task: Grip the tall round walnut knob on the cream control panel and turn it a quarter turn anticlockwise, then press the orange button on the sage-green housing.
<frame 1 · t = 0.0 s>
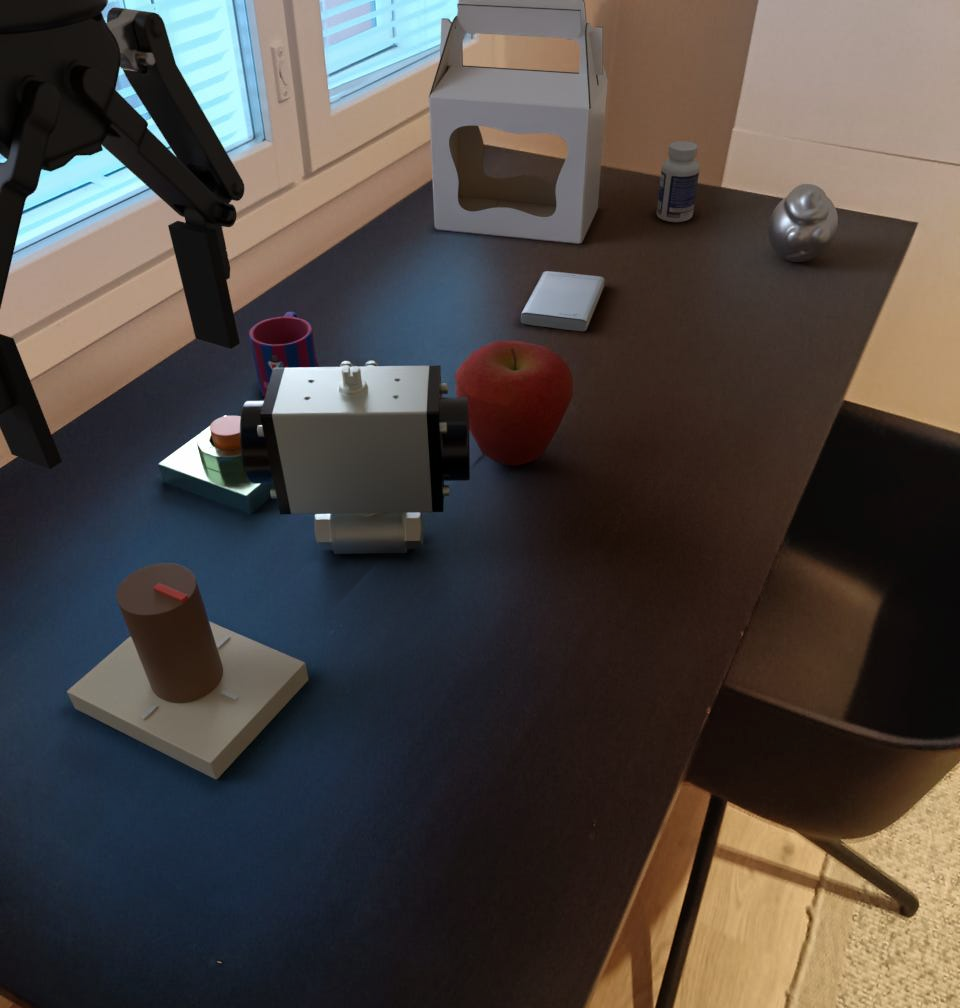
hand: (134, 395, 50), 28 cm above the table, tool pointing down, fingers open, 13 cm apart
button box: (239, 471, 93), on the table
ball valve: (373, 544, 85), on the table
knob: (172, 632, 67), point 7 cm above the table, hinge at 0.0°
mug: (294, 381, 105), on the table
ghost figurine: (794, 261, 126), on the table
panel: (193, 694, 72), on the table
apple: (512, 459, 94), on the table
gable box: (517, 221, 137), on the table
hard drive: (563, 307, 117), on the table
pill bottle: (673, 217, 138), on the table
button: (230, 433, 89), point 4 cm above the table, slide at 0.1 cm
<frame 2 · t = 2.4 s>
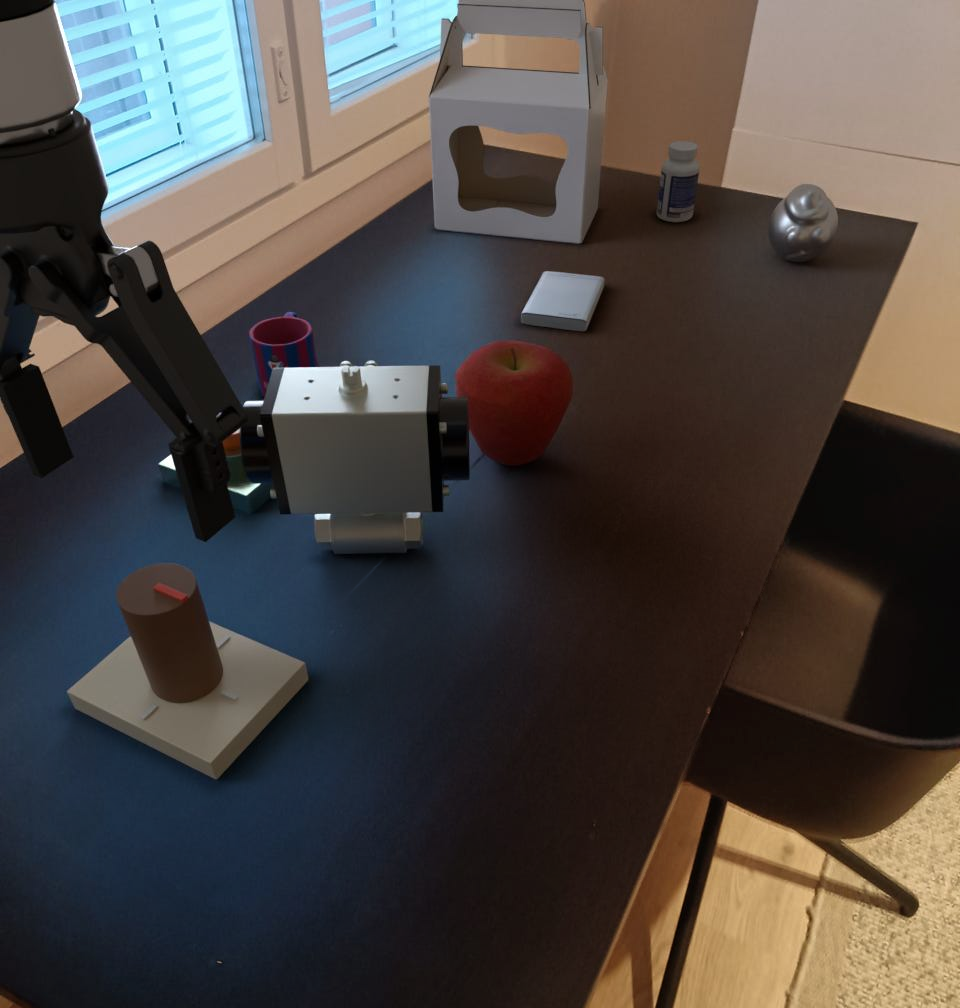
hand: (131, 496, 58), 19 cm above the table, tool pointing down, fingers open, 13 cm apart
nothing on the table moved.
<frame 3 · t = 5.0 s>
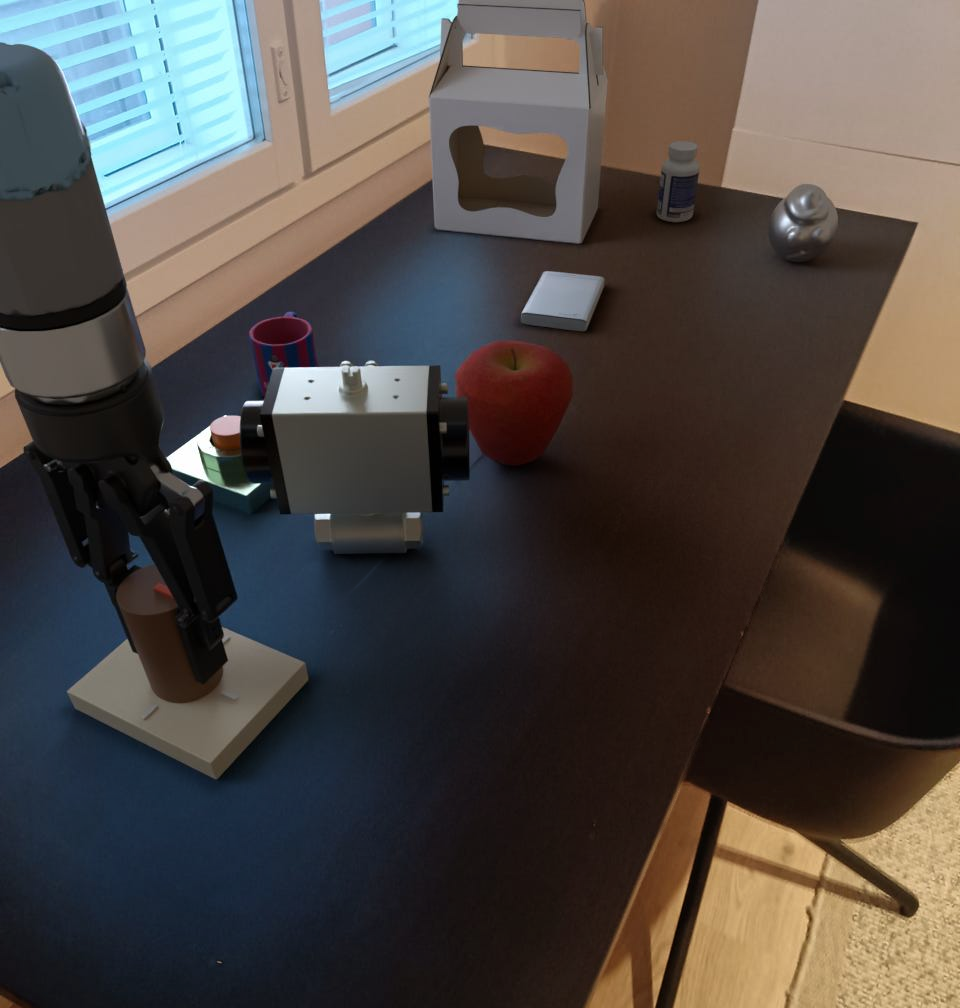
hand: (180, 655, 69), 4 cm above the table, tool pointing down, fingers closed on knob, 5 cm apart
knob: (172, 632, 67), point 7 cm above the table, hinge at 0.0°, touching gripper
everything else where it was.
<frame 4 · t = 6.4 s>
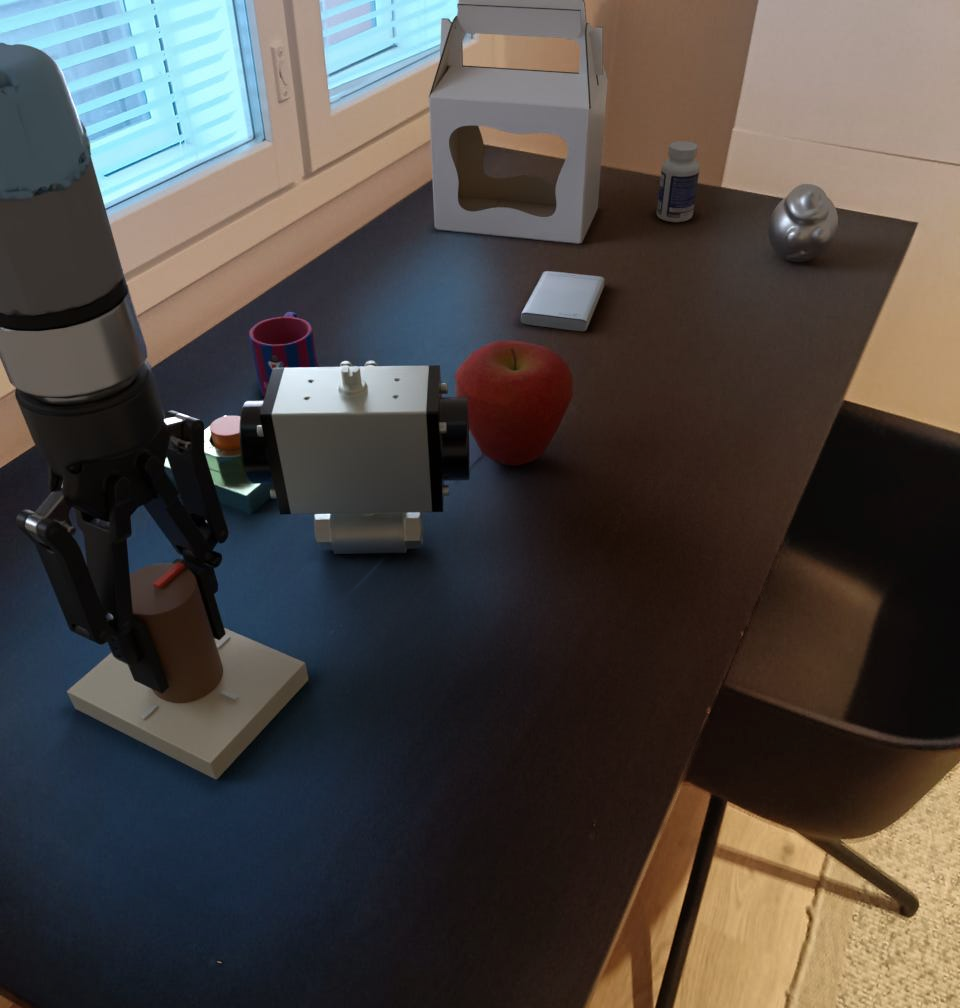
hand: (181, 656, 69), 4 cm above the table, tool pointing down, fingers closed on knob, 5 cm apart
knob: (172, 632, 67), point 7 cm above the table, hinge at 91.0°, touching gripper
everything else where it was.
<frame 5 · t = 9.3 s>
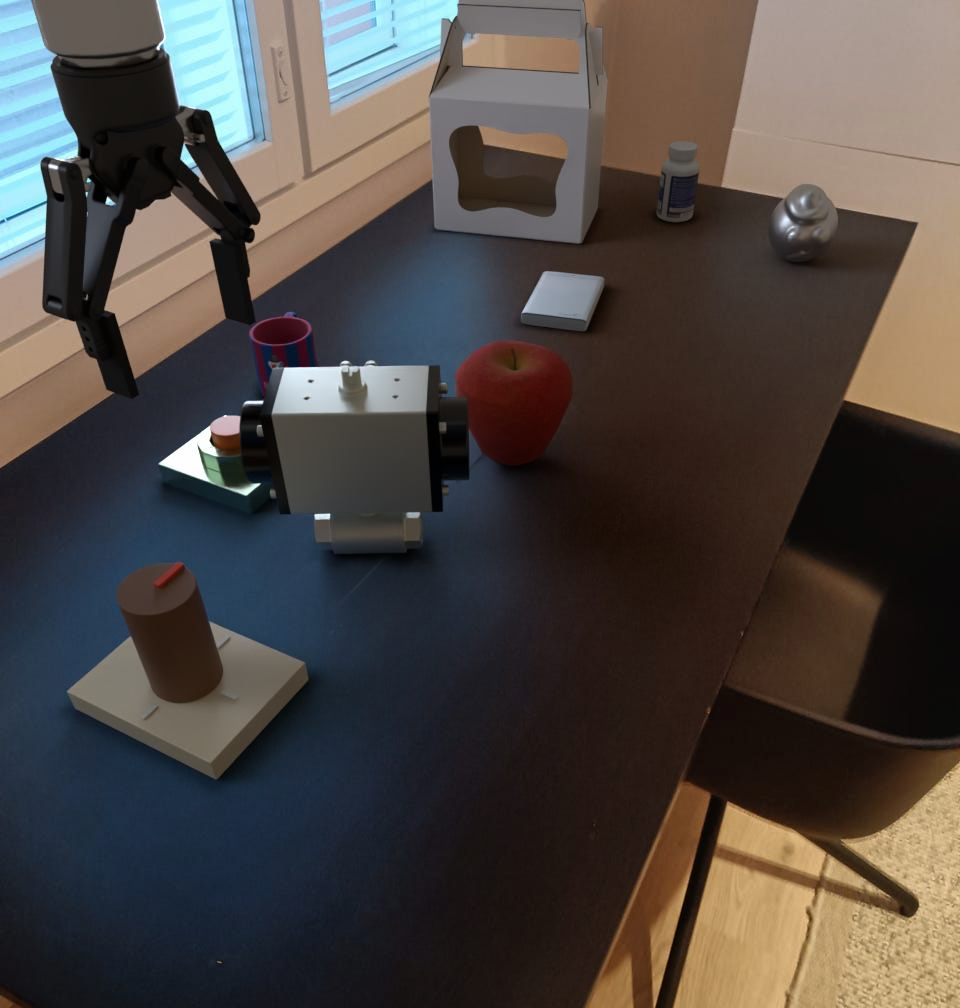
hand: (185, 354, 75), 17 cm above the table, tool pointing down, fingers open, 13 cm apart
knob: (172, 632, 67), point 7 cm above the table, hinge at 91.0°
everything else where it was.
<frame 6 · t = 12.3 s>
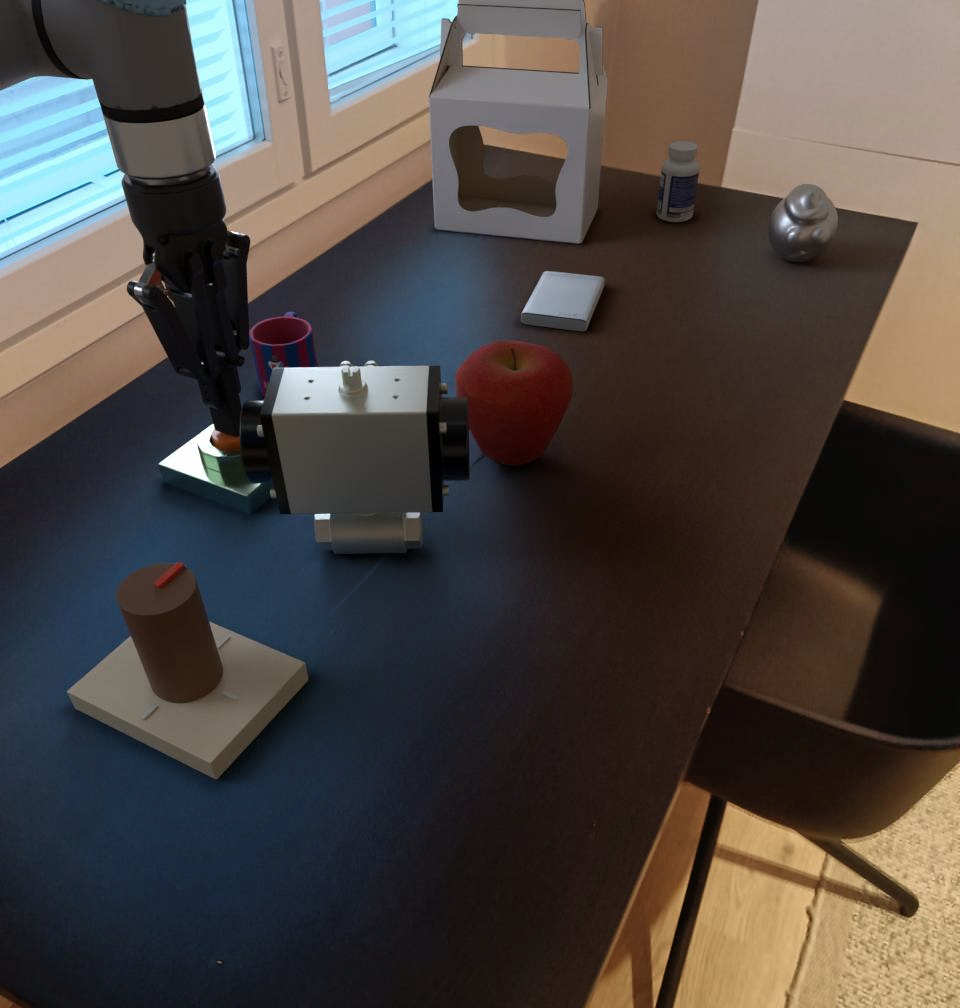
hand: (230, 429, 89), 5 cm above the table, tool pointing down, fingers closed
button: (232, 439, 90), point 4 cm above the table, slide at -0.6 cm, touching gripper
everything else where it was.
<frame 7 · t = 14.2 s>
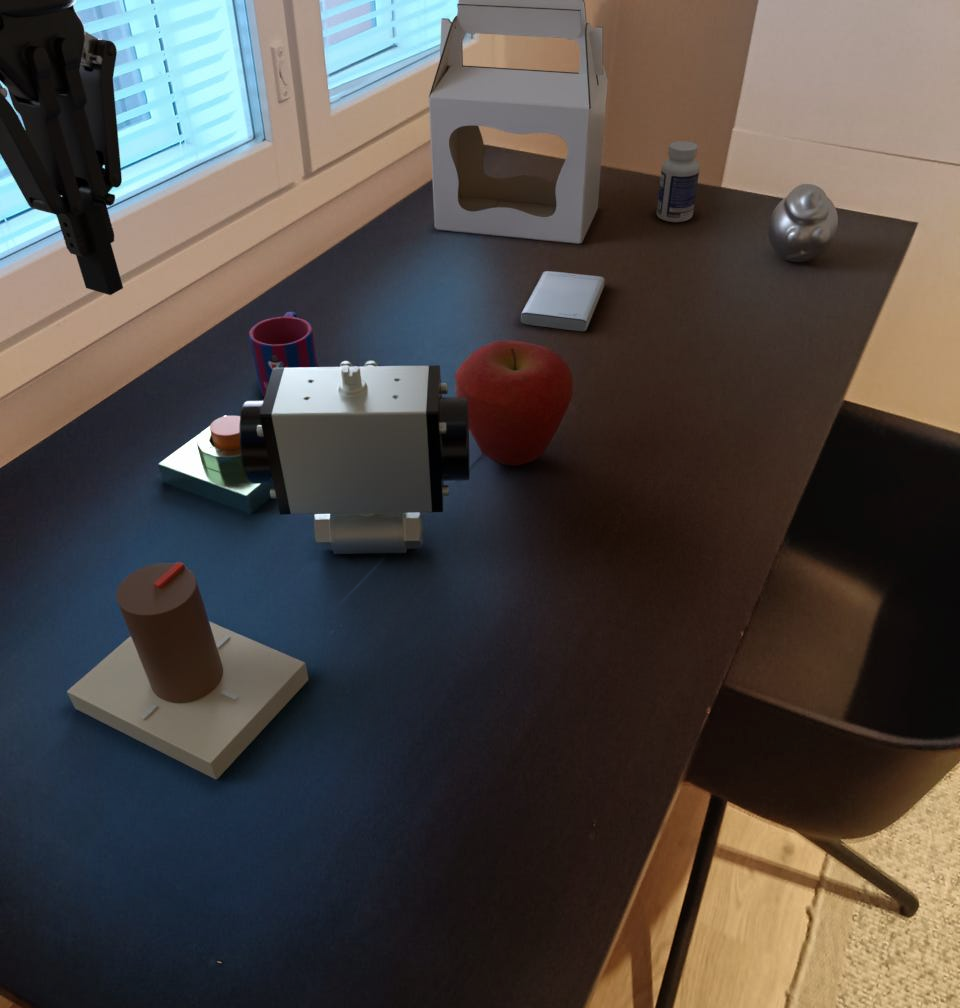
hand: (104, 287, 77), 20 cm above the table, tool pointing down, fingers closed
button: (230, 433, 89), point 4 cm above the table, slide at 0.1 cm
everything else where it was.
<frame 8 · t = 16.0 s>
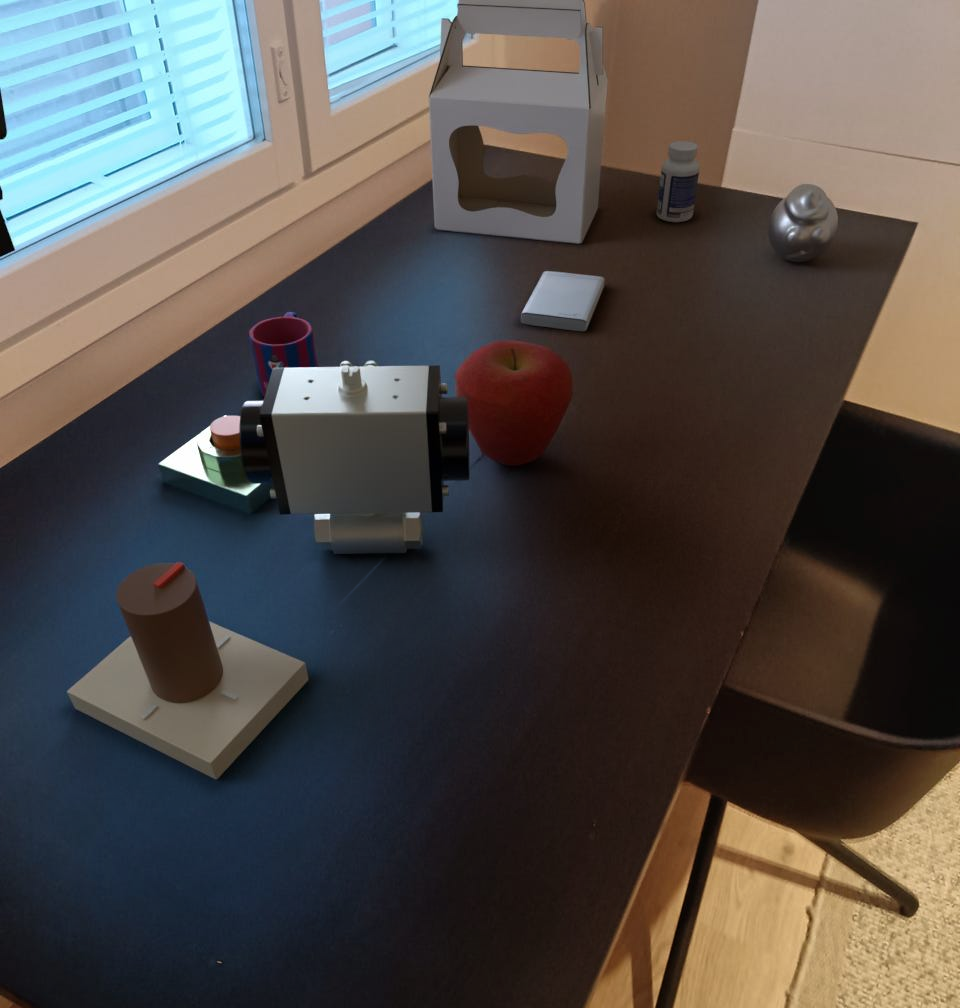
nothing on the table moved.
at the end: knob at +91° (first picture: +0°); button pushed in 1.0 cm at the most during the clip, back to where it started at the end; button slide at 0.1 cm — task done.
